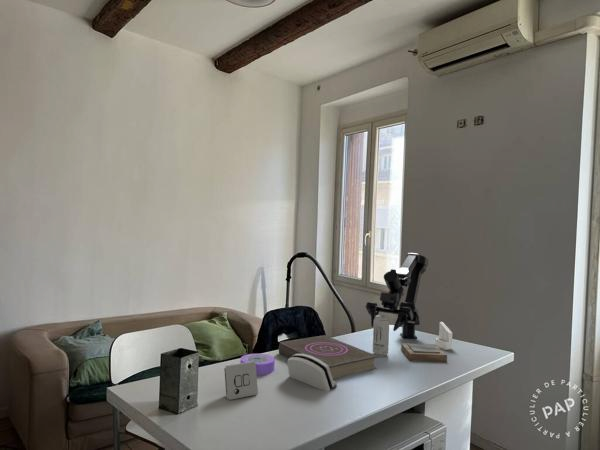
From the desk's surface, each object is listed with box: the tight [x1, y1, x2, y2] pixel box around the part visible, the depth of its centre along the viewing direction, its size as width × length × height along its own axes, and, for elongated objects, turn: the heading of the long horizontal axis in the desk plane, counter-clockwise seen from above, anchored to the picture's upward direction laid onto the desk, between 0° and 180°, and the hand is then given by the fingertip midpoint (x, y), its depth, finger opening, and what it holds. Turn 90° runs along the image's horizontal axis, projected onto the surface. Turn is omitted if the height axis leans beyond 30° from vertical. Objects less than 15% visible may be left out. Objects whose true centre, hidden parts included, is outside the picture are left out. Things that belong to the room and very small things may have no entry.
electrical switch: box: [224, 362, 259, 401], centre depth 125 cm, size 9×5×9 cm, turn 121°
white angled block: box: [434, 321, 453, 351], centre depth 181 cm, size 4×10×9 cm, turn 25°
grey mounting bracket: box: [286, 354, 338, 392], centre depth 136 cm, size 17×5×10 cm, turn 46°
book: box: [278, 334, 379, 380], centre depth 158 cm, size 30×22×5 cm
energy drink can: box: [372, 314, 390, 357], centre depth 167 cm, size 6×6×15 cm
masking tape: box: [239, 353, 276, 376], centre depth 147 cm, size 12×12×4 cm
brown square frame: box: [400, 342, 448, 363], centre depth 168 cm, size 14×14×3 cm
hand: (382, 328), depth 169 cm, fingers open, 9 cm apart
